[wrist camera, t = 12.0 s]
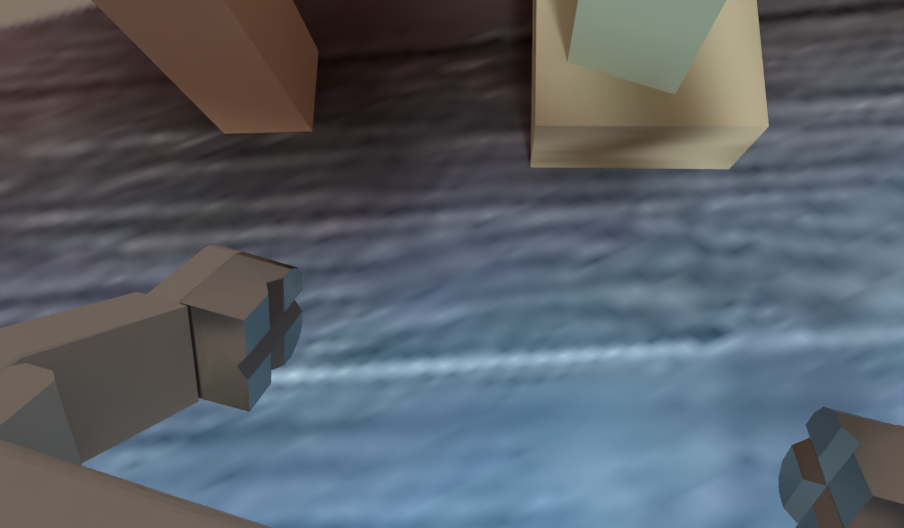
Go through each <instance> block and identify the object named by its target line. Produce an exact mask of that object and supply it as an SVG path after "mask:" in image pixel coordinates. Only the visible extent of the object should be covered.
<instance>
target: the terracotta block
mask: <svg viewBox="0 0 904 528" xmlns="http://www.w3.org/2000/svg"><path fill="white" fill-rule="evenodd" d="M92 1H93V2H94V3H95V4H96V5H97V6H98V7H99V8H100V9H101V10H102V11H103V12H104V13H105V14H106V15H107V16H108V17H109V18H110V19H111V20H112V21H113V22H114V23H115V24H116V25H117V26H118V27H119V28H120V29H121V30H122V31H123V32H124V33H125V34H126V35H127V36H128V37H129V38H130V39H131V40H132V41H133V42H134V43H135V44H136V45H137V46H138V47H139V48H140V49H141V50H142V51H143V52H144V53H145V54H146V55H147V56H148V57H149V58H150V59H151V60H152V61H153V62H154V63H155V64H156V65H157V66H158V67H159V68H160V69H161V71H162V72H163V73H164V74H165V75H166V76H167V77H168V78H169V79H170V80H171V81H172V82H173V83H174V84H175V85H176V86H177V87H178V88H179V89H180V90H181V91H182V92H183V93H184V94H185V95H186V96H187V97H188V98H189V99H190V100H191V101H192V102H193V103H194V104H195V105H196V106H197V107H198V108H199V109H200V110H201V111H202V112H203V113H204V114H205V115H206V116H207V117H208V118H209V119H210V120H211V121H212V122H213V123H214V124H215V125H216V126H217V127H218V128H219V129H220V130H221V131H222V132H223V133H224V134H235V133H275V132H312V129H313V116H314V103H315V91H316V78H317V65H318V53H319V51H318V49H317V47H316V45H315V43H314V41H313V39H312V37H311V35H310V33H309V31H308V29H307V27H306V25H305V23H304V21H303V19H302V18H301V16H300V14H299V12H298V10H297V8H296V6H295V4H294V2H293V0H92Z"/></svg>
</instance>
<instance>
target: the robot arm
mask: <svg viewBox="0 0 904 528" xmlns="http://www.w3.org/2000/svg"><path fill="white" fill-rule="evenodd" d="M302 290H303V287H302V273H301V271H300V270H299V269H298V268H297V267H294V266H290V265H287V264H283V263H280V262H276V261H273V260H269V259H266V258H262V257H259V256H255V255H252V254H248V253H245V252H240V251H237V250H234V249H230V248H226V247H222V246H219V245H210V246H207V247H205V248H204V249H203V250H202V251H200V252H199V253H198V254H197V255H195V256H194V257H193V258H192V259H190V260H189V261H188V262H187V263H185V264H184V265H183V266H181V267H180V268H179V269H178V270H176V271H175V272H174V273H173V274H171V275H170V276H169V277H168V278H166V279H165V280H164V281H163V282H161V283H160V284H159V285H158V286H156V287H155V288H154V289H153V290H151V291H150V292H149V293H148V294H143V293H139V292H136V293H132V294H128V295H124V296H121V297H117V298H113V299H109V300H105V301H102V302H98V303H94V304H90V305H87V306H83V307H79V308H75V309H72V310H68V311H64V312H60V313H56V314H53V315H49V316H45V317H41V318H38V319H34V320H30V321H26V322H22V323H19V324H15V325H11V326H7V327H4V328H0V528H272V527H269V526H266V525H263V524H260V523H257V522H254V521H251V520H248V519H244V518H241V517H238V516H235V515H232V514H229V513H226V512H223V511H220V510H217V509H214V508H211V507H207V506H204V505H201V504H198V503H195V502H192V501H189V500H186V499H183V498H180V497H177V496H174V495H170V494H167V493H164V492H161V491H158V490H155V489H152V488H149V487H146V486H143V485H140V484H137V483H134V482H130V481H127V480H124V479H121V478H118V477H115V476H112V475H109V474H106V473H103V472H100V471H97V470H93V469H90V468H87V467H84V466H82V463H83V462H85V461H87V460H89V459H91V458H93V457H95V456H97V455H98V454H100V453H102V452H104V451H106V450H108V449H110V448H112V447H113V446H115V445H117V444H119V443H121V442H123V441H125V440H127V439H129V438H130V437H132V436H134V435H136V434H138V433H140V432H142V431H144V430H145V429H147V428H149V427H151V426H153V425H155V424H157V423H159V422H161V421H162V420H164V419H166V418H168V417H170V416H172V415H174V414H176V413H177V412H179V411H181V410H183V409H185V408H187V407H189V406H191V405H193V404H194V403H196V402H198V401H199V398H200V399H204V400H208V401H211V402H215V403H219V404H223V405H226V406H230V407H234V408H237V409H241V410H245V411H249V412H250V411H251V409H252V408H253V407H254V405H255V404H256V403H257V401H258V400H259V399H260V397H261V396H262V395H263V393H264V392H265V391H266V389H267V388H268V387H269V385H270V384H271V370H273V369H276V368H278V367H281V366H283V365H285V364H286V362H287V361H288V359H289V358H290V357H291V355H292V354H293V352H294V349H295V347H296V345H297V342H298V340H299V337H300V333H301V327H302V310H301V309H300V307H299V306H298V304H297V303H296V301H295V299H296V297H297V296H298V295H299V294H300V293H301V291H302ZM806 427H807V431H808V434H809V437H810V438H808V439H806V440H803V441H801V442H799V443H796V444H794V445H792V446H791V448H790V449H789V451H788V452H787V454H786V456H785V457H784V459H783V461H782V465H781V469H780V474H779V494H780V497H781V501H782V505H783V508H784V509H785V510H786V511H787V512H788V513H789V515H790V516H791V517H792V518H793V519H794V520H795V521H796V522H797V523H798V525H797V526H796V528H904V426H902V425H893V424H889V423H885V422H881V421H877V420H873V419H869V418H866V417H862V416H858V415H854V414H850V413H846V412H842V411H838V410H835V409H831V408H827V407H822V408H821V409H819V410H818V411H816V412H815V413H814V414H813V415H812V417H811V418H810V420H809V421H808V422H807V424H806Z"/></svg>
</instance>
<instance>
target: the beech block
mask: <svg viewBox="0 0 904 528" xmlns="http://www.w3.org/2000/svg"><path fill="white" fill-rule="evenodd" d="M577 4H578V0H533V13H532V87H531V161H530V167H551V168H662V169H730V167H731V166H732V165H733V164H734V163H735V162H736V161H737V160H738V159H739V158H740V157H741V156H742V155H743V153H744V152H745V151H746V150H747V149H748V148H749V147H750V146H751V145H752V144H753V143H754V142H755V141H756V139H757V138H758V137H759V136H760V135H761V134H762V133H763V132H764V131H765V130H766V129H767V128H768V127H769V124H768V114H767V104H766V93H765V83H764V72H763V62H762V52H761V41H760V31H759V20H758V10H757V0H726V2H725V4H724V6H723V8H722V9H721V11H720V13H719V15H718V17H717V19H716V20H715V22H714V24H713V26H712V28H711V30H710V31H709V33H708V35H707V37H706V39H705V41H704V42H703V44H702V46H701V48H700V50H699V52H698V53H697V55H696V57H695V59H694V61H693V62H692V64H691V66H690V68H689V70H688V72H687V73H686V75H685V77H684V79H683V81H682V83H681V84H680V86H679V88H678V90H677V92H676V94H675V95H674V94H671V93H668V92H664V91H661V90H658V89H654V88H651V87H648V86H645V85H641V84H638V83H635V82H631V81H628V80H625V79H622V78H618V77H615V76H612V75H608V74H605V73H602V72H599V71H595V70H592V69H589V68H585V67H582V66H579V65H576V64H572V63H569V62H568V56H569V50H570V44H571V39H572V33H573V27H574V21H575V16H576V10H577Z"/></svg>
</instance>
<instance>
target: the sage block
mask: <svg viewBox="0 0 904 528" xmlns="http://www.w3.org/2000/svg"><path fill="white" fill-rule="evenodd" d="M725 2H726V0H578V4H577V10H576V16H575V21H574V27H573V33H572V39H571V44H570V50H569V56H568V62H569V63H572V64H576V65H579V66H582V67H585V68H589V69H592V70H595V71H599V72H602V73H605V74H608V75H612V76H615V77H618V78H622V79H625V80H628V81H631V82H635V83H638V84H641V85H645V86H648V87H651V88H654V89H658V90H661V91H664V92H668V93H671V94H674V95H675V94H676V92H677V90H678V88H679V86H680V84H681V83H682V81H683V79H684V77H685V75H686V73H687V72H688V70H689V68H690V66H691V64H692V62H693V61H694V59H695V57H696V55H697V53H698V52H699V50H700V48H701V46H702V44H703V42H704V41H705V39H706V37H707V35H708V33H709V31H710V30H711V28H712V26H713V24H714V22H715V20H716V19H717V17H718V15H719V13H720V11H721V9H722V8H723V6H724V4H725Z"/></svg>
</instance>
